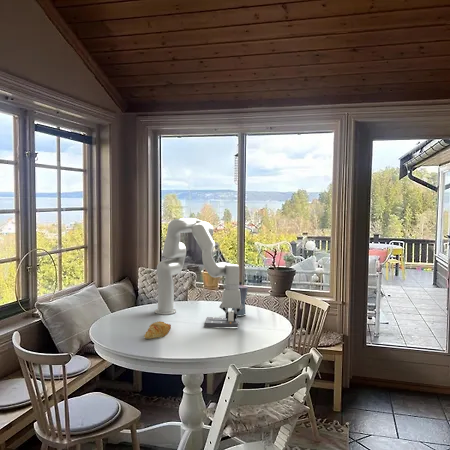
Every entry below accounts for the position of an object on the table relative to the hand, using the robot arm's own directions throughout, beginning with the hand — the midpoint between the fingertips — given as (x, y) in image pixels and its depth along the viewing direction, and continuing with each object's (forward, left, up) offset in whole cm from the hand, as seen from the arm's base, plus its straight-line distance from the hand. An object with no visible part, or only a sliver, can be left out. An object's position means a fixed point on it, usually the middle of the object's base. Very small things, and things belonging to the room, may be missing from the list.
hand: (231, 319), depth 253 cm
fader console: (0, -5, -3) cm, 6 cm away
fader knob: (0, 0, -3) cm, 3 cm away
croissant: (+23, -36, -4) cm, 43 cm away
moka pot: (-23, +3, -3) cm, 23 cm away
